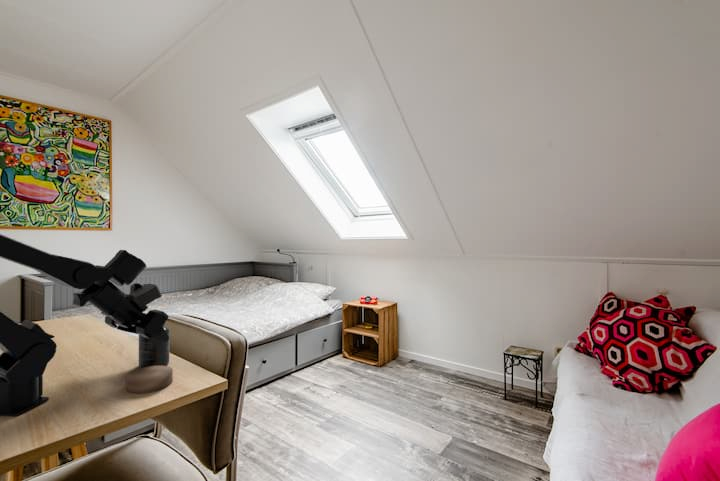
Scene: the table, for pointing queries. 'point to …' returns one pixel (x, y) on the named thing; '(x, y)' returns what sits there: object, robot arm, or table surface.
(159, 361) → the supplement bottle
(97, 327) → the table surface
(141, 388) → the walnut stand
